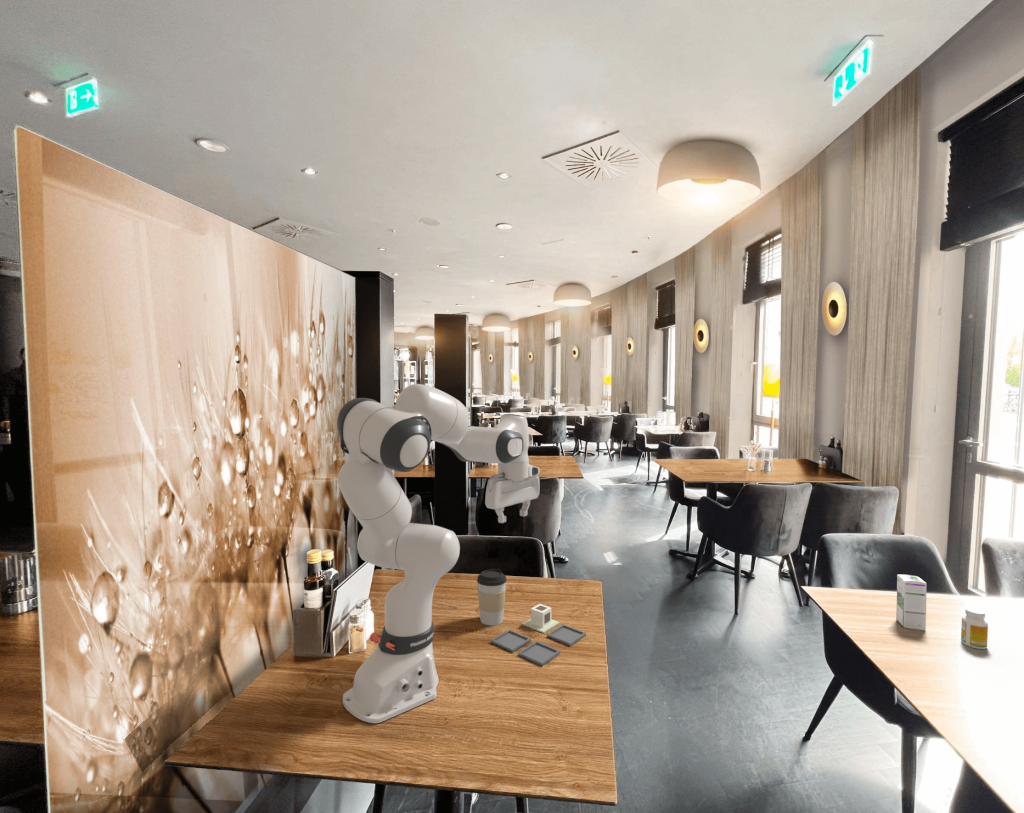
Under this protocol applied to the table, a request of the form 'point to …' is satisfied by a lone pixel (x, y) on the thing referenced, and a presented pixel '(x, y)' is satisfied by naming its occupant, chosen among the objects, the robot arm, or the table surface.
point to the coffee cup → (491, 596)
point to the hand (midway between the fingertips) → (513, 519)
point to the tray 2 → (539, 653)
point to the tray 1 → (511, 640)
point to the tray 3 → (566, 635)
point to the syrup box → (911, 602)
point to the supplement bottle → (974, 629)
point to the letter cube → (541, 615)
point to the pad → (543, 630)
